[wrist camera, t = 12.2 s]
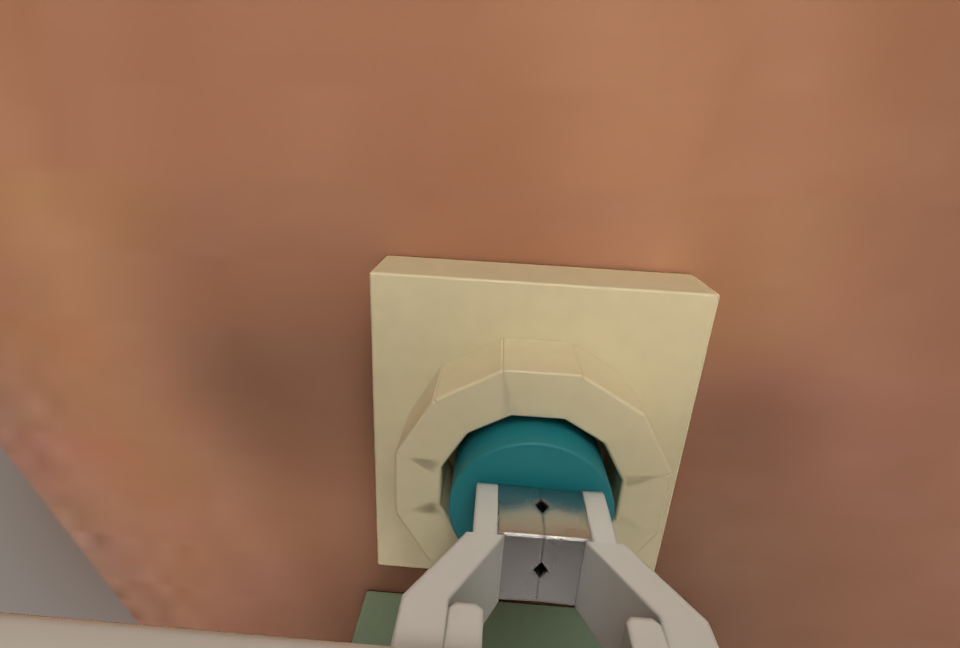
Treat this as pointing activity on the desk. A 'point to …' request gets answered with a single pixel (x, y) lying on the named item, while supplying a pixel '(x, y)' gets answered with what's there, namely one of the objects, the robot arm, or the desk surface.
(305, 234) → the desk surface
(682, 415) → the cream button base
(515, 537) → the robot arm
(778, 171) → the desk surface
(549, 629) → the plate
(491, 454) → the teal push button
